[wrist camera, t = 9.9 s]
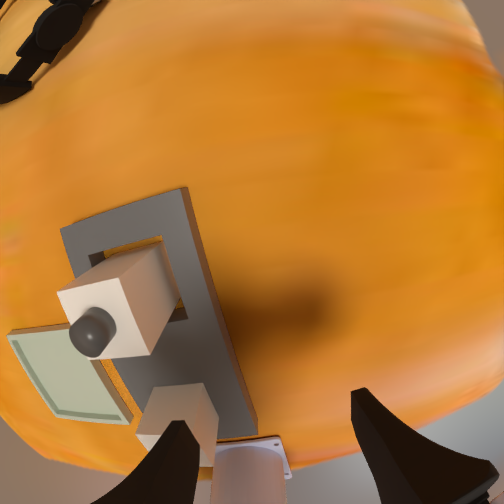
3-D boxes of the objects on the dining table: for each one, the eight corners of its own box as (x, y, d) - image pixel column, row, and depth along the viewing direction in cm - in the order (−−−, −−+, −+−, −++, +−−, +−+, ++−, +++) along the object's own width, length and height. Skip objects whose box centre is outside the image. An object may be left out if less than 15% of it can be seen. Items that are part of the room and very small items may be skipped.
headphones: (140, -88, 4) (-45, 150, 10) (177, -33, 12) (21, 142, 17) (60, -96, 1) (-62, 57, 6) (93, -69, 8) (-18, 60, 14)
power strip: (257, 418, 22) (260, 498, 14) (166, 426, 22) (146, 496, 14) (187, 187, 17) (133, 197, 9) (75, 223, 17) (-9, 255, 9)
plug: (180, 296, 19) (140, 375, 11) (131, 305, 19) (75, 377, 11) (163, 240, 18) (101, 291, 10) (113, 254, 18) (38, 304, 10)
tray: (133, 416, 22) (130, 424, 21) (60, 410, 23) (55, 417, 22) (80, 321, 19) (73, 328, 18) (12, 330, 20) (6, 335, 19)
